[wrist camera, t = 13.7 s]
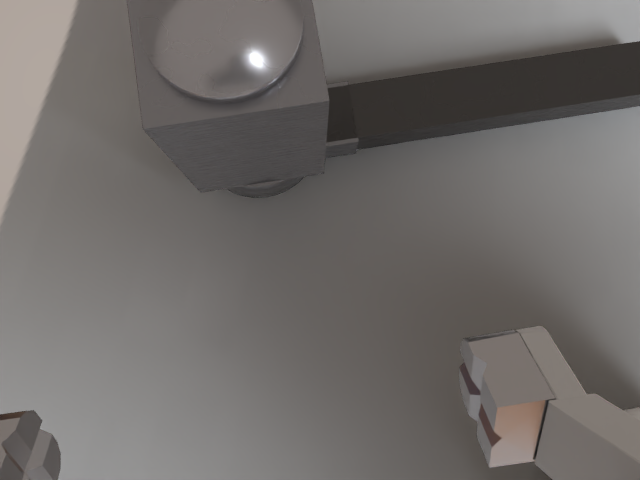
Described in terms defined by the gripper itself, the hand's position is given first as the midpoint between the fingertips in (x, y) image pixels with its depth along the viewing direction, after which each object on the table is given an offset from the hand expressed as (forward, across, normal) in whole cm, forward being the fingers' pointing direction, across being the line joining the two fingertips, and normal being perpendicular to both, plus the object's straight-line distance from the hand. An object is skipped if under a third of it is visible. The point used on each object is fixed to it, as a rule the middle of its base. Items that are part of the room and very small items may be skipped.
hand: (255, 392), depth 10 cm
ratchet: (+20, -9, +4) cm, 22 cm away
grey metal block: (+18, 0, +3) cm, 19 cm away
